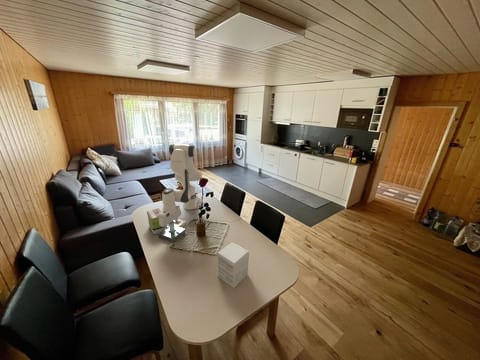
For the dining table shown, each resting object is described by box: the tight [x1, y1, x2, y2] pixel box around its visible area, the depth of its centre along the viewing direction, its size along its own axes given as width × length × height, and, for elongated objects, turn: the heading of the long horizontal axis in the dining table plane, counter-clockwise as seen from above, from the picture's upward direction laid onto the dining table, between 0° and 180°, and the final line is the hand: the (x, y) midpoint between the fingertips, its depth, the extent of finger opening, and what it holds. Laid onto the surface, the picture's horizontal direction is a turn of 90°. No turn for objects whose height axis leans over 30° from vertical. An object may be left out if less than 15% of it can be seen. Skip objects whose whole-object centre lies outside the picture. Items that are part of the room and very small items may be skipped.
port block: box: [158, 226, 186, 244], centre depth 151 cm, size 14×14×5 cm
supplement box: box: [217, 241, 250, 289], centre depth 113 cm, size 13×13×18 cm
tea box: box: [146, 207, 166, 235], centre depth 158 cm, size 15×10×15 cm
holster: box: [173, 218, 187, 228], centre depth 165 cm, size 10×10×3 cm
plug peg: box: [168, 220, 175, 234], centre depth 150 cm, size 4×4×12 cm
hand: (171, 225), depth 149 cm, fingers open, 8 cm apart
